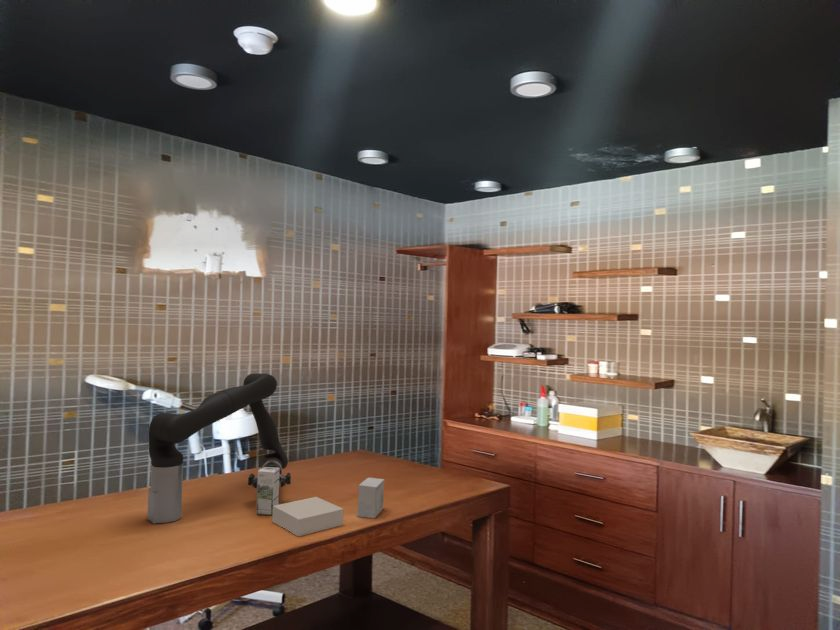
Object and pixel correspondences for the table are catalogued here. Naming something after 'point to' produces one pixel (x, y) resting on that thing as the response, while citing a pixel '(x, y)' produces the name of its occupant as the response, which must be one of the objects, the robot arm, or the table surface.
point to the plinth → (307, 516)
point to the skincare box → (370, 497)
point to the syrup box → (267, 490)
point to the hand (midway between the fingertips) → (268, 484)
